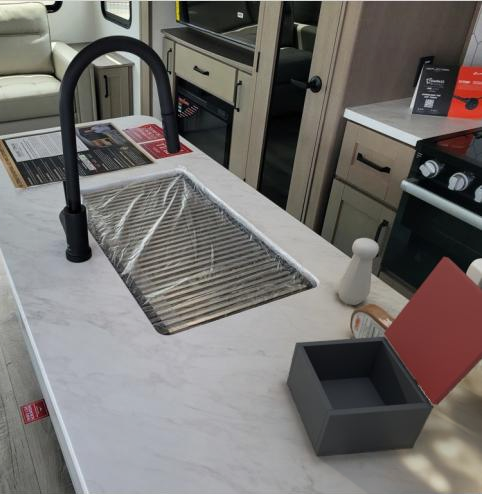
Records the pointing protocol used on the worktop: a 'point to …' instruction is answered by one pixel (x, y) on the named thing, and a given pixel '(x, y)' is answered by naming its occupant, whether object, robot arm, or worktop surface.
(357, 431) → the dark grey storage bin
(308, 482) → the worktop surface
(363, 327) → the tin
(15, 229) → the worktop surface
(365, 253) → the salt shaker
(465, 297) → the storage bin lid
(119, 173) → the worktop surface
